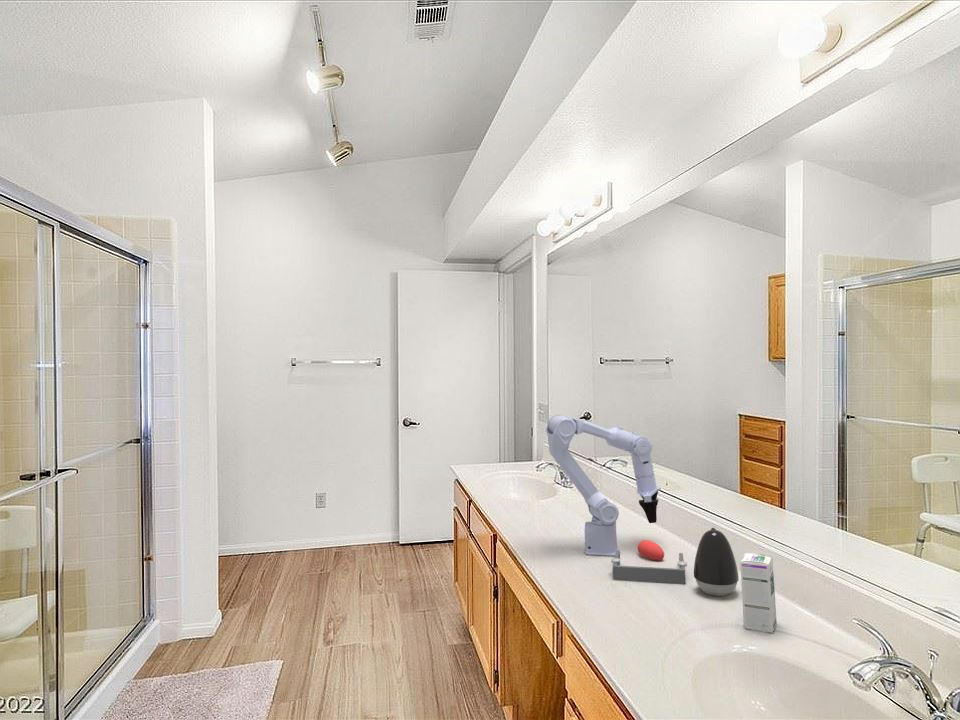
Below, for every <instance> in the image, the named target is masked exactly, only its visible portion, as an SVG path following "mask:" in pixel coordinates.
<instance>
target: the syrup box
mask: <svg viewBox="0 0 960 720" xmlns="http://www.w3.org/2000/svg"><path fill="white" fill-rule="evenodd" d="M739 563H740V564H739V565H740V566H739V567H740V582H741V584H740V585H741V599H742V614H743V615H742V617H743V628H744V629H746V628H747V629H748V630H750V629H753V630H752V631H755V630H759V631H758V632H761V631H765V632H764V633H767V632H771V633H770V634H774V632H773V631H775V629H774V628H776V626H777V622H778V621H777V608H776V593H775V591H776V590H775V589H776V588H775V576H774V574H775V573H774V565H773V564H774V560H773V556H770V555H766V554H762V553H761V554H759V553H747V552H746V553H745V552H744V555H743V556H742V557H741V559H740V561H739ZM747 629H746V630H747Z"/></svg>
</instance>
